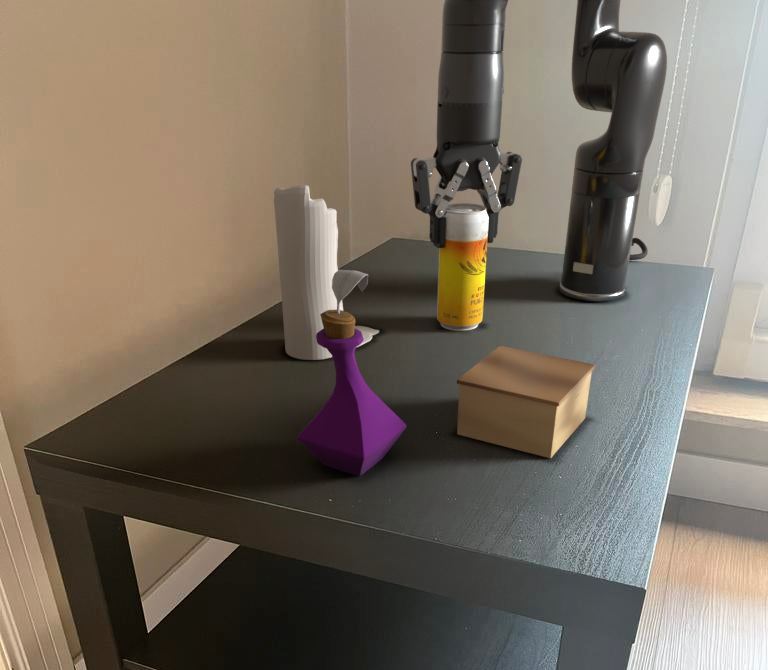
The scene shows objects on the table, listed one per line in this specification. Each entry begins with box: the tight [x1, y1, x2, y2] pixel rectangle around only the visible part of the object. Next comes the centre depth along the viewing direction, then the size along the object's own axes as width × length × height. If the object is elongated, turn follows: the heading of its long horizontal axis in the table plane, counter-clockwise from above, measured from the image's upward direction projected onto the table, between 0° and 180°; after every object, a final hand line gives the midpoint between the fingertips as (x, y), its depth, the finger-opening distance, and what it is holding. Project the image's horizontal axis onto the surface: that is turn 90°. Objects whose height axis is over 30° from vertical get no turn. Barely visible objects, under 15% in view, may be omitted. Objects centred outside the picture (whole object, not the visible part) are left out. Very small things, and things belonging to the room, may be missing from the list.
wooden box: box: [456, 345, 596, 459], centre depth 81 cm, size 10×10×6 cm
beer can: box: [436, 202, 489, 332], centre depth 104 cm, size 6×6×15 cm
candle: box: [273, 184, 380, 361], centre depth 97 cm, size 7×14×20 cm, turn 137°
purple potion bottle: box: [296, 269, 407, 477], centre depth 71 cm, size 8×8×18 cm
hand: (462, 243), depth 102 cm, fingers closed on beer can, 6 cm apart
